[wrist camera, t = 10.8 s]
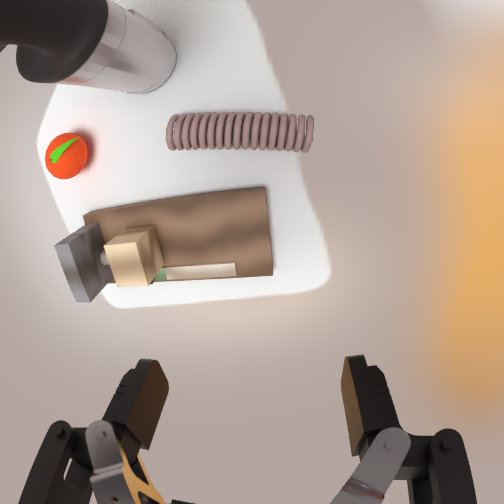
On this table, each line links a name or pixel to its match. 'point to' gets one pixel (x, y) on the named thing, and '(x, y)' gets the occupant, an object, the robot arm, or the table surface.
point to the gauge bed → (177, 239)
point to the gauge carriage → (134, 256)
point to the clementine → (66, 156)
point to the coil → (239, 131)
